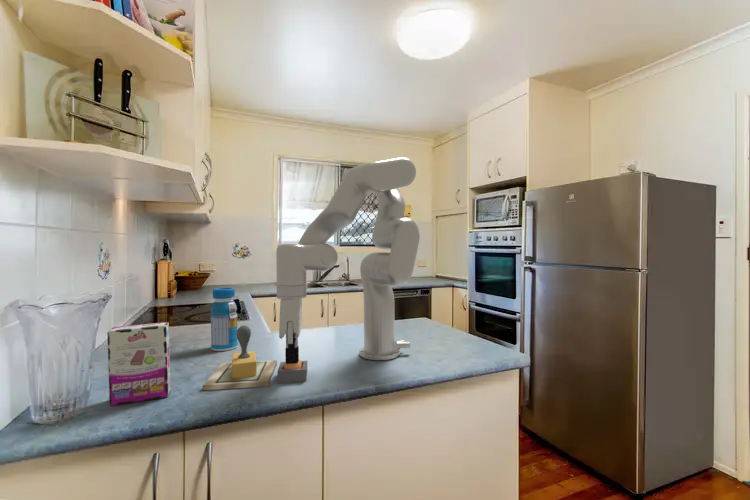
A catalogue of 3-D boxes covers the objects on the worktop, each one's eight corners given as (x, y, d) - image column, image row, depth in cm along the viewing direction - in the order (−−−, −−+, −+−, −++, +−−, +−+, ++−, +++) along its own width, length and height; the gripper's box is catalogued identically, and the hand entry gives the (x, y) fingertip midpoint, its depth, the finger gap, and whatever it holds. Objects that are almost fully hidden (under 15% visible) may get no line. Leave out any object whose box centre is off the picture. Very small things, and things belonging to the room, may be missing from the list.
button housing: (307, 371, 96) (307, 360, 96) (306, 381, 89) (306, 369, 89) (280, 373, 95) (280, 362, 95) (277, 383, 88) (277, 371, 88)
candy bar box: (171, 389, 85) (169, 321, 85) (168, 397, 81) (167, 325, 80) (114, 398, 81) (113, 325, 80) (108, 407, 76) (106, 330, 76)
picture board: (276, 364, 102) (276, 359, 102) (268, 386, 86) (268, 380, 86) (221, 367, 100) (221, 362, 100) (202, 390, 84) (202, 384, 84)
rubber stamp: (256, 375, 90) (256, 328, 90) (232, 379, 88) (231, 330, 88) (254, 363, 99) (254, 320, 99) (232, 366, 97) (231, 322, 97)
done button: (302, 372, 95) (302, 359, 95) (301, 378, 90) (301, 364, 90) (285, 373, 94) (285, 360, 94) (283, 379, 90) (283, 365, 90)
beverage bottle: (212, 353, 114) (211, 290, 113) (209, 346, 121) (208, 288, 121) (240, 349, 118) (239, 288, 118) (236, 343, 125) (235, 286, 125)
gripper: (280, 288, 99) (280, 354, 99) (272, 295, 84) (273, 373, 84) (307, 288, 100) (308, 353, 100) (305, 295, 85) (305, 371, 85)
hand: (292, 362), depth 92 cm, fingers closed
